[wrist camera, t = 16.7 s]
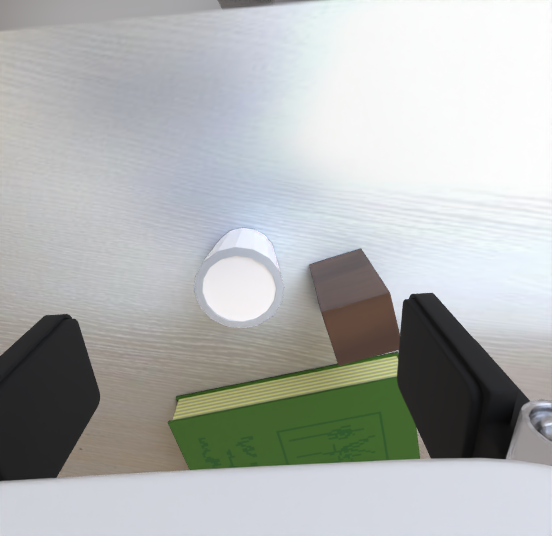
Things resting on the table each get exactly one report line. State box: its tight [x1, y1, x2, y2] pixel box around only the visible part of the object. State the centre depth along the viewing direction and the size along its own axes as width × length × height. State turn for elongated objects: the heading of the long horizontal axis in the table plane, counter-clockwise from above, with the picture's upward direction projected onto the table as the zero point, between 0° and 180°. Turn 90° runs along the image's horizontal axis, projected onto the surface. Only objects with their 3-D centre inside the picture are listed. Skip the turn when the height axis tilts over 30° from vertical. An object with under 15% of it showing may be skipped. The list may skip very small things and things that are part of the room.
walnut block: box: [310, 249, 400, 366], centre depth 32 cm, size 5×5×9 cm
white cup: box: [194, 228, 285, 328], centre depth 31 cm, size 7×7×7 cm
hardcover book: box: [168, 352, 420, 470], centre depth 42 cm, size 25×19×4 cm
